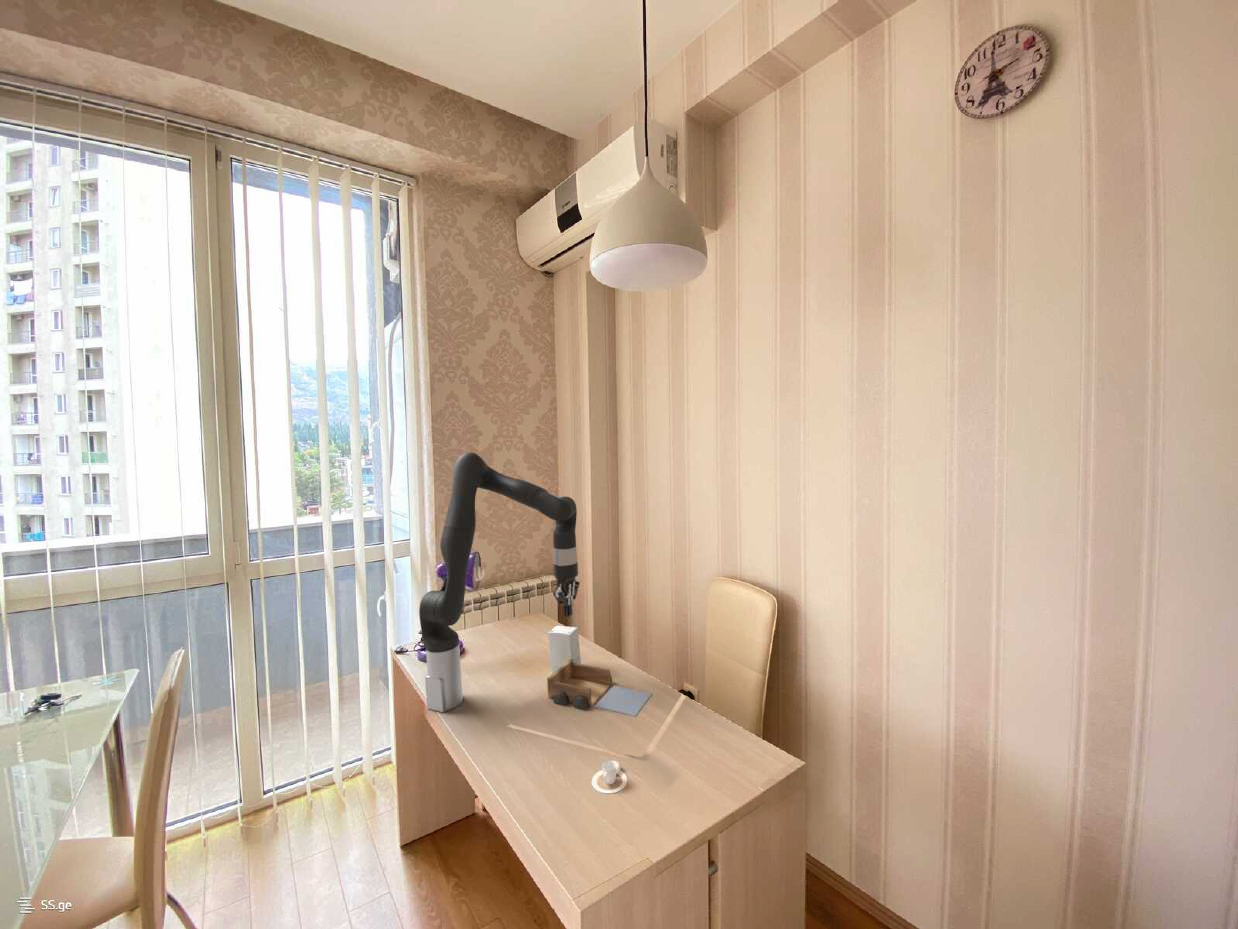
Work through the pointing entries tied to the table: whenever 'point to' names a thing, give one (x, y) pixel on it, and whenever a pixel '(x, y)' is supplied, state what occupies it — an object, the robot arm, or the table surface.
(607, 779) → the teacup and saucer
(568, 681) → the wooden toy cart
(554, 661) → the skincare box
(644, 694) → the tailgate
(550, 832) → the table surface
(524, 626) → the table surface
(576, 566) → the robot arm
